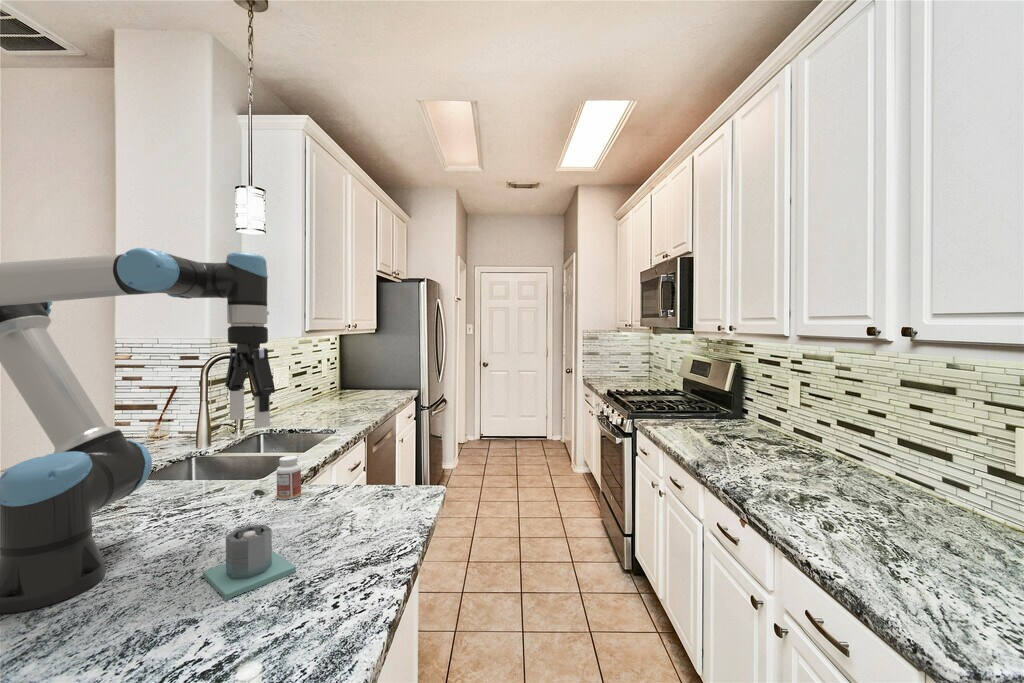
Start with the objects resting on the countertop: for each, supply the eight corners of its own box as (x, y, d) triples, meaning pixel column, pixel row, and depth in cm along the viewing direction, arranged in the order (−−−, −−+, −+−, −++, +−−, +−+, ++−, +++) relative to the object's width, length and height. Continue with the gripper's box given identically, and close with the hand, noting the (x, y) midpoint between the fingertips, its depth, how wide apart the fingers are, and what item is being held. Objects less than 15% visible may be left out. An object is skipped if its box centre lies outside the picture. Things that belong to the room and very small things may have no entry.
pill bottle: (297, 491, 132) (297, 453, 132) (303, 496, 127) (303, 458, 127) (274, 495, 128) (274, 457, 128) (279, 502, 123) (279, 462, 123)
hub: (236, 583, 81) (235, 545, 81) (222, 570, 86) (221, 534, 86) (276, 567, 87) (276, 531, 87) (261, 556, 91) (260, 522, 91)
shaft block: (226, 600, 78) (225, 554, 78) (202, 576, 85) (202, 534, 85) (295, 571, 87) (295, 531, 87) (269, 552, 95) (268, 515, 95)
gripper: (292, 325, 93) (293, 427, 93) (244, 326, 108) (245, 414, 109) (252, 324, 87) (254, 434, 87) (208, 326, 103) (209, 418, 103)
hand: (249, 423), depth 98 cm, fingers open, 13 cm apart
